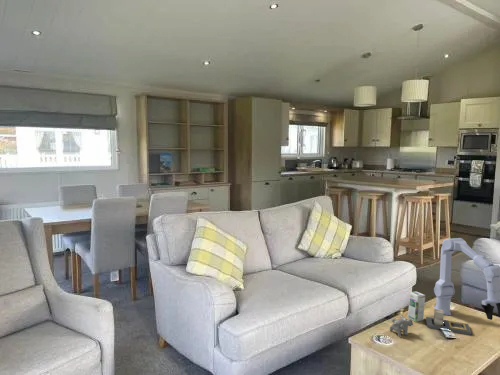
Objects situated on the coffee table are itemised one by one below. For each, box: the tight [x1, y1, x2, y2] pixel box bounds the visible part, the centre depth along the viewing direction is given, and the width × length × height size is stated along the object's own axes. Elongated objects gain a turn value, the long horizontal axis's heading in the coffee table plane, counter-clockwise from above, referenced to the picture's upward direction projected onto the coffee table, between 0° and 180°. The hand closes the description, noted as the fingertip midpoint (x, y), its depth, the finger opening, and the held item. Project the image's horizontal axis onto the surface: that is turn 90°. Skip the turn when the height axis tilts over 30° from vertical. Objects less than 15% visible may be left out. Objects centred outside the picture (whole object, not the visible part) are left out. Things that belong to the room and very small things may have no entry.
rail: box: [425, 316, 472, 336], centre depth 198 cm, size 10×20×2 cm, turn 68°
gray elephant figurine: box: [389, 315, 414, 338], centre depth 191 cm, size 9×12×8 cm
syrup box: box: [407, 291, 426, 323], centre depth 206 cm, size 6×6×14 cm
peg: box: [432, 308, 445, 326], centre depth 199 cm, size 4×4×8 cm
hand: (495, 318), depth 186 cm, fingers open, 7 cm apart
